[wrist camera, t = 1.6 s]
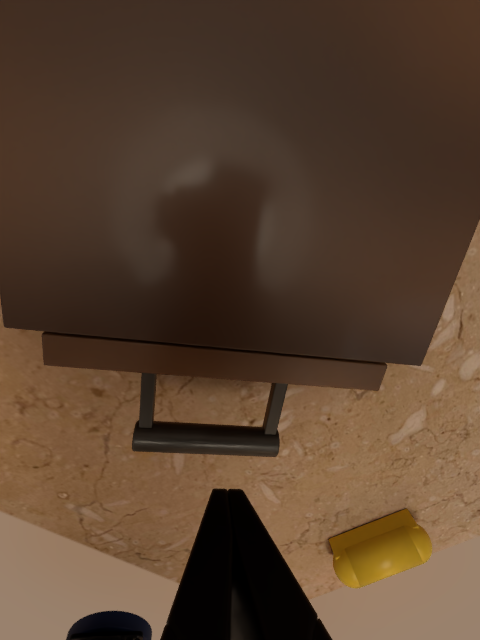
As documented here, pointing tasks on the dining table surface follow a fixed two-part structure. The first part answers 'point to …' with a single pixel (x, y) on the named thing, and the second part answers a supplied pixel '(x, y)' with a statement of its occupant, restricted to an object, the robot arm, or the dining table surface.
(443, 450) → the dining table surface
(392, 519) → the yellow rounded block
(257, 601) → the robot arm
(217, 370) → the drawer
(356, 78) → the cabinet
